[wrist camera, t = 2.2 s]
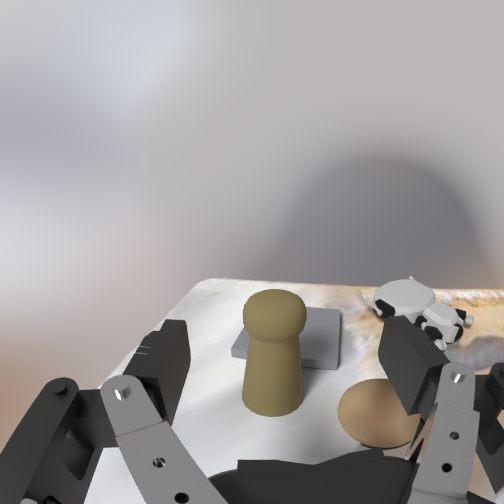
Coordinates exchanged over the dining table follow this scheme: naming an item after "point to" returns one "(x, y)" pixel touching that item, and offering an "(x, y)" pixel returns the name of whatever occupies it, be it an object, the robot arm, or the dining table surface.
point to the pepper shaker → (273, 352)
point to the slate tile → (309, 339)
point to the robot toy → (420, 310)
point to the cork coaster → (376, 415)
